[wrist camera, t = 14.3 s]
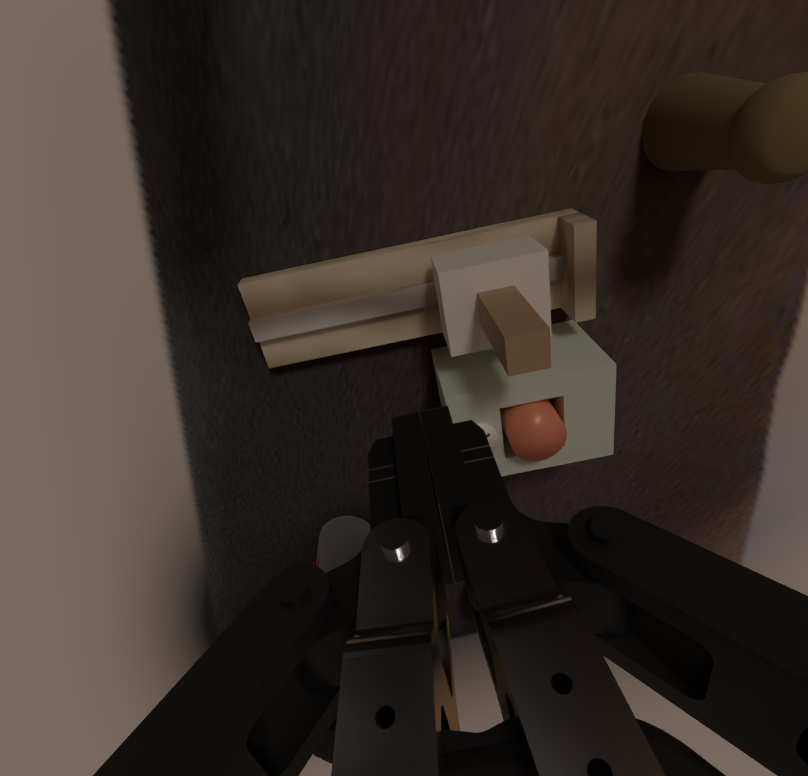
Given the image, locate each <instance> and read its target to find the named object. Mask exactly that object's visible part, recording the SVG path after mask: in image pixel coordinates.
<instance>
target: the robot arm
mask: <svg viewBox="0 0 808 776" xmlns="http://www.w3.org/2000/svg"><path fill="white" fill-rule="evenodd" d="M421 415H422V420H423V425H424V430H425V435H426V440H427V445H428V449H429V454H430V459H431V464H432V469H433V474H434V479H435V484H436V489H437V494H438V499H439V504H440V509H441V514H442V518H443V523H444V528H445V532H446V537H447V542H448V546H449V551H450V555H451V560H452V565H453V569H454V574H455V579H456V582H459V581H464V580H465V584H466V588H467V593H468V597H469V602H470V607H471V612H472V616H473V619H474V622H475V626H476V629H477V632H478V635H479V639H480V642H481V645H482V648H483V652H484V655H485V658H486V661H487V665H488V668H489V671H490V675H491V678H492V681H493V684H494V688H495V690H496V694H497V698H498V701H499V705H500V708H501V712H502V716H503V720H504V722H502V723H500V724H498V725H496V726H494V727H492V728H490V729H488V730H486V731H484V732H480V733H471V732H463V731H460V726H459V720H458V714H457V706H456V697H455V686H454V676H453V665H452V653H451V642H450V631H449V621H448V615H447V611H448V602H447V597H446V591H445V584H450V583H453V579H452V574H451V568H450V563H449V558H448V553H447V548H446V543H445V538H444V533H443V528H442V523H441V518H440V513H439V508H438V502H437V497H436V492H435V487H434V482H433V477H432V472H431V467H430V463H429V458H428V453H427V449H426V444H425V439H424V435H423V430H422V426H421V421H420V416H419V412H413V413H408V414H404V415H399V416H394V417H392V428H393V436H392V437H387V438H382V439H377V440H375V442H374V444H373V446H372V448H371V450H370V451H369V453H368V468H369V499H370V532H369V534H368V535H367V536H366V538H365V540H364V543H363V546H362V550H361V551H360V552H359V553H358V554H357V555H356V556H355V557H354V558H352V559H351V560H349V561H348V562H346V563H344V564H342V565H340V566H338V567H336V568H334V569H332V570H330V571H328V572H326V573H325V572H324V571H323V570H322V569H320V568H319V567H317V566H314V565H310V564H300V565H295V566H292V567H289V568H287V569H285V570H283V571H281V572H280V573H278V574H277V575H276V576H274V577H273V578H272V579H271V580H270V581H269V582H268V583H267V585H266V586H265V587H264V588H263V589H262V590H261V591H260V592H259V593H258V594H257V596H256V597H255V598H254V599H253V600H252V601H251V602H250V603H249V604H248V605H247V607H246V608H245V609H244V610H243V611H242V612H241V613H240V614H239V615H238V616H237V618H236V619H235V620H234V621H233V622H232V623H231V624H230V625H229V626H228V627H227V629H226V630H225V631H224V632H223V633H222V634H221V635H220V636H219V637H218V638H217V640H216V641H215V642H214V643H213V644H212V645H211V646H210V648H209V649H208V650H207V651H206V652H205V653H204V654H203V655H202V656H201V657H200V658H199V659H198V661H197V662H196V663H195V664H194V665H193V666H192V667H191V668H190V669H189V670H188V672H187V673H186V674H185V675H184V676H183V677H182V678H181V679H180V680H179V681H178V683H177V684H176V685H175V686H174V687H173V688H172V689H171V690H170V691H169V692H168V694H167V695H166V696H165V697H164V698H163V699H162V700H161V701H160V702H159V703H158V705H157V706H156V707H155V708H154V709H153V710H152V711H151V712H150V713H149V714H148V716H147V717H146V718H145V719H144V720H143V721H142V722H141V723H140V724H139V726H138V727H137V728H136V729H135V730H134V731H133V732H132V733H131V734H130V736H128V738H127V739H126V740H125V741H124V742H123V743H122V744H121V745H120V746H119V748H118V749H117V750H116V751H115V752H114V753H113V754H112V755H111V756H110V757H109V758H108V760H107V761H106V762H105V763H104V764H103V765H102V766H101V767H100V768H99V769H98V771H97V772H96V773H95V774H94V775H93V776H299V774H300V773H301V771H302V769H303V768H304V766H305V765H306V763H307V762H308V760H309V759H310V757H311V756H312V754H313V752H314V751H315V749H316V748H317V746H318V745H319V743H320V742H321V740H322V739H323V737H324V735H325V734H326V732H327V731H328V729H329V728H330V726H331V725H332V723H333V722H334V720H335V718H336V717H337V722H336V733H335V743H334V753H333V763H332V774H331V776H725V775H724V774H723V773H721V772H720V771H719V770H718V769H716V768H715V767H714V766H712V765H711V764H710V763H708V762H707V761H706V760H705V759H703V758H702V757H701V756H699V755H698V754H697V753H696V752H694V751H693V750H692V749H690V748H689V747H688V746H686V745H685V744H684V743H682V742H681V741H679V740H678V739H676V738H675V737H673V736H671V735H670V734H668V733H667V732H665V731H663V730H661V729H659V728H657V727H655V726H653V725H651V724H649V723H647V722H644V721H642V720H639V719H636V718H635V716H634V714H633V712H632V710H631V708H630V706H629V704H628V703H627V701H626V699H625V697H624V695H623V693H622V691H621V689H620V687H619V686H618V684H617V681H616V679H615V678H614V676H613V674H612V672H611V670H610V668H609V666H608V664H607V662H606V660H605V658H604V656H605V657H606V658H608V659H609V660H611V661H612V662H614V663H615V664H617V665H618V666H619V667H621V668H622V669H624V670H625V671H627V672H628V673H630V674H631V675H633V676H634V677H635V678H637V679H638V680H640V681H641V682H643V683H644V684H646V685H647V686H649V687H650V688H651V689H653V690H654V691H656V692H657V693H659V694H660V695H662V696H663V697H664V698H666V699H667V700H669V701H670V702H672V703H673V704H675V705H676V706H677V707H679V708H680V709H682V710H683V711H685V712H686V713H687V714H689V715H690V716H692V717H693V718H695V719H696V720H698V721H699V722H701V723H702V724H703V725H705V726H706V727H708V728H709V729H711V730H712V731H714V732H715V733H717V734H718V735H720V736H721V737H722V738H724V739H725V740H727V741H728V742H729V743H731V744H732V745H734V746H735V747H737V748H738V749H740V750H741V751H743V752H744V753H745V754H747V755H748V756H750V757H751V758H753V759H754V760H756V761H757V762H759V763H760V764H761V765H763V766H764V767H766V768H767V769H769V770H770V771H772V772H773V773H774V774H776V775H777V776H808V596H806V595H804V594H802V593H800V592H798V591H796V590H793V589H791V588H789V587H787V586H785V585H783V584H780V583H778V582H776V581H774V580H772V579H770V578H767V577H765V576H763V575H761V574H759V573H757V572H754V571H752V570H750V569H748V568H746V567H744V566H742V565H739V564H737V563H735V562H733V561H731V560H729V559H726V558H724V557H722V556H720V555H718V554H716V553H713V552H711V551H709V550H707V549H705V548H703V547H700V546H698V545H696V544H694V543H692V542H690V541H687V540H685V539H683V538H681V537H679V536H677V535H674V534H672V533H670V532H668V531H666V530H664V529H661V528H659V527H657V526H655V525H653V524H651V523H649V522H646V521H644V520H642V519H640V518H638V517H636V516H633V515H631V514H629V513H627V512H625V511H622V510H620V509H617V508H613V507H606V506H596V507H590V508H586V509H584V510H581V511H580V512H578V513H577V514H575V515H574V516H573V517H572V519H571V520H570V522H569V524H564V523H550V522H542V521H538V520H534V519H532V518H529V517H527V516H525V515H524V514H522V513H521V512H519V511H518V510H517V509H516V508H515V507H514V505H513V504H512V502H511V500H510V498H509V495H508V492H507V490H506V487H505V484H504V482H503V479H502V476H501V474H500V471H499V469H498V466H497V463H496V461H495V458H494V456H493V453H492V450H491V447H490V445H489V442H488V439H487V437H486V434H485V431H484V430H483V429H482V428H481V427H480V426H478V425H477V424H476V423H475V422H474V421H472V420H468V421H464V422H459V423H454V424H453V422H452V418H451V415H450V411H449V408H448V405H446V406H441V407H437V408H432V409H427V410H422V411H421Z"/></svg>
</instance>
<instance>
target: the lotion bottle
mask: <svg viewBox="0 0 808 776" xmlns="http://www.w3.org/2000/svg"><path fill="white" fill-rule="evenodd" d="M369 532H370V524H369V523H368V522H366V521H365V520H363V519H361V518H359V517H356V516H339V517H336V518H333V519H331V520H330V521H328V522H327V523H326V524H325V525H324V526H323V527H322V529H321V532H320V536H319V542H318V551H317V561H316V566H317V567H319V568H320V569H322V570H323V571H324V572H325V573H326V572H328V571H330V570H332V569H334V568H336V567H338V566H340V565H342V564H344V563H346V562H348V561H349V560H351V559H352V558H354V557H355V556H356V555H357V554H358V553H359V552H360V551H361V550H362V546H363V543H364V540H365V538H366V536H367V535H368V534H369ZM336 722H337V717H336V718H335V720H334V722H333V723H332V725H331V726H330V728H329V729H328V731H327V732H326V734H325V735H324V737H323V739H322V740H321V742H320V743H319V745H318V746H317V748H316V749H315V751H314V752H313V754H314V755H315V756H316V757H319V758H322V759H323V760H325V761H327V762H329V763H333V753H334V743H335V733H336Z"/></svg>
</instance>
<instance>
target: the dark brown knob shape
mask: <svg viewBox="0 0 808 776" xmlns="http://www.w3.org/2000/svg"><path fill="white" fill-rule="evenodd" d="M642 143H643V150H644V152H645V153H646V155H647V157H648V159H649V161H650V162H651V163H653V164H654V165H655V166H656V167H658V168H659V169H663V170H667V171H699V170H730V169H735V170H737V171H738V172H739V173H740V174H741V175H742V176H744V177H745V178H746V179H749V180H752V181H756V182H760V183H764V184H772V183H782V182H789V181H791V180H794V179H796V178H799V177H801V176H803V175H805V174H807V173H808V72H804V73H793V74H787V75H784V76H782V77H780V78H778V79H775V80H773V81H771V82H768V83H766V84H765V83H760V82H754V81H749V80H743V79H738V78H732V77H727V76H721V75H716V74H710V73H704V72H697V73H687V74H685V75H683V76H681V77H678V78H676V79H674V80H673V81H671V82H670V83H669V84H668V85H667V86H665V87H664V88H663V89H662V90H661V91H660V92H659V93H658V95H657V96H656V97H655V99H654V100H653V102H652V103H651V104H650V106H649V109H648V111H647V114H646V116H645V118H644V122H643V129H642Z"/></svg>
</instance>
